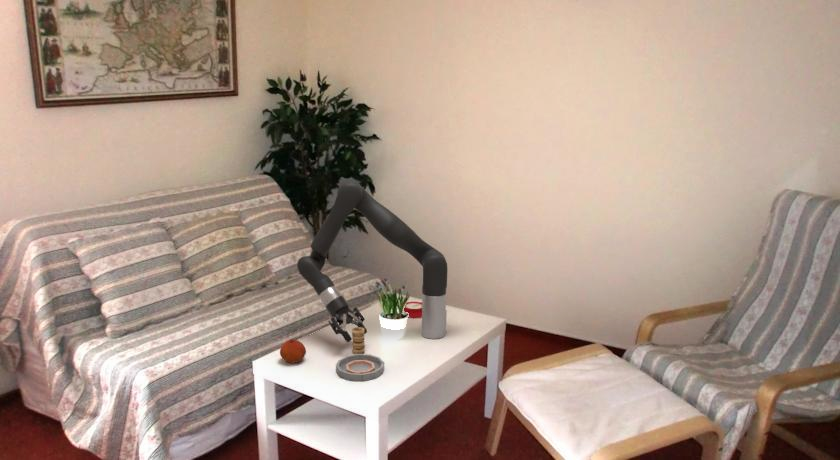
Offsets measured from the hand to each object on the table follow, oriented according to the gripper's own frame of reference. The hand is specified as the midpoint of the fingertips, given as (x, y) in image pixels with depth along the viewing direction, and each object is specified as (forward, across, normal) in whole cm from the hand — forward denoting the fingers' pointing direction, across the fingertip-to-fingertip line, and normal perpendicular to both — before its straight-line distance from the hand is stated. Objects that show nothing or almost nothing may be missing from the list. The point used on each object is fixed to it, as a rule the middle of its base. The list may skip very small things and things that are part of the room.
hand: (357, 337), depth 239 cm
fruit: (-5, -19, +14) cm, 24 cm away
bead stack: (+4, 0, +4) cm, 6 cm away
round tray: (+12, -11, -3) cm, 16 cm away
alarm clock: (+1, +45, +8) cm, 46 cm away
